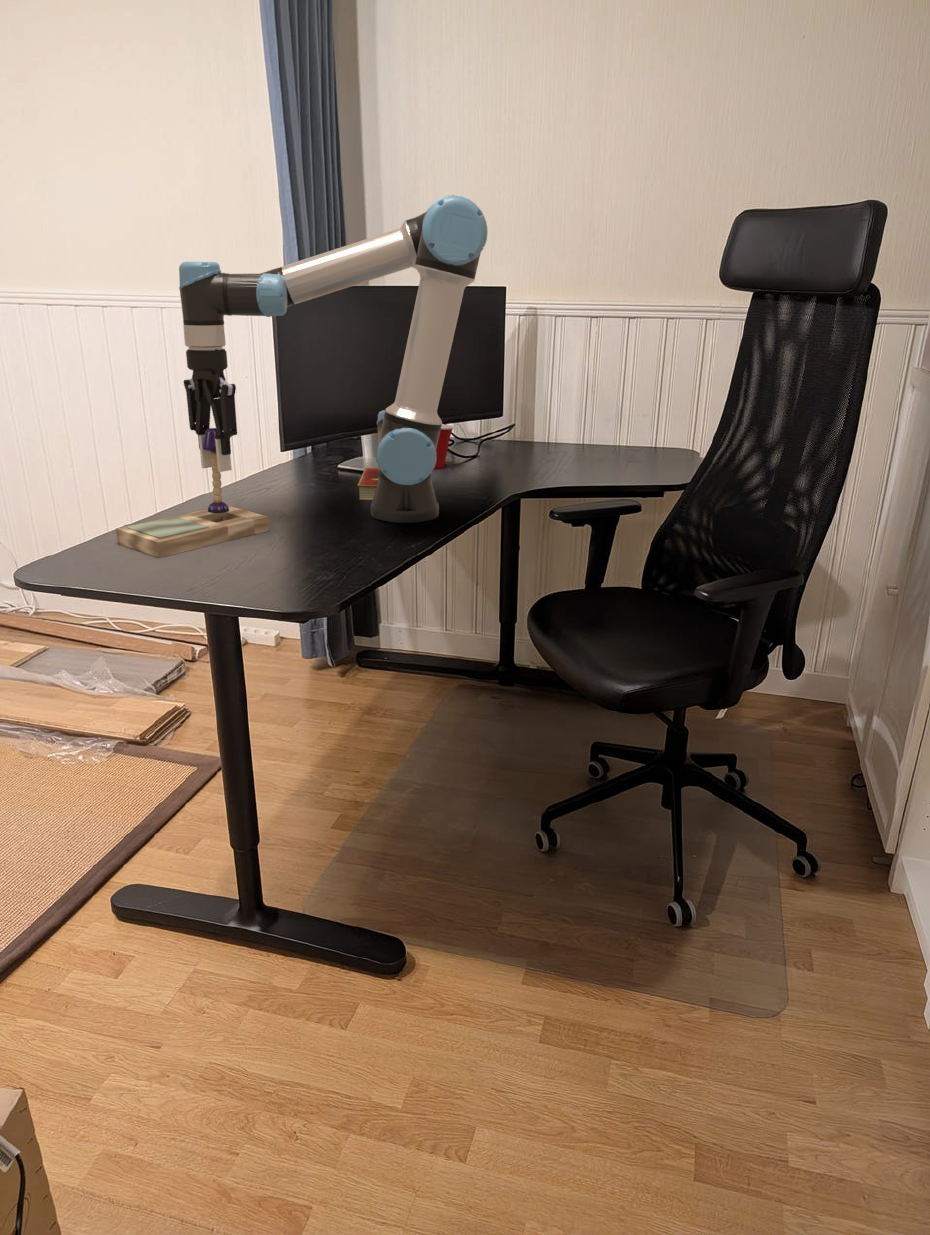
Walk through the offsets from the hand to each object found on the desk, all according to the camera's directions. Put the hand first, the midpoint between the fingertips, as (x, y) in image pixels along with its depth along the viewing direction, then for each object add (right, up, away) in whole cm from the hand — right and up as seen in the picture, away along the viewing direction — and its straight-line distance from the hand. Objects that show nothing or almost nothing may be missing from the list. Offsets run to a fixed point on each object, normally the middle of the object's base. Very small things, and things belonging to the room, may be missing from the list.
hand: (216, 468), depth 180 cm
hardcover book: (+30, +1, +43) cm, 52 cm away
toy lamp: (0, -8, +3) cm, 9 cm away
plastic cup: (+41, +12, +71) cm, 83 cm away
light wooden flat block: (-4, -14, 0) cm, 14 cm away
